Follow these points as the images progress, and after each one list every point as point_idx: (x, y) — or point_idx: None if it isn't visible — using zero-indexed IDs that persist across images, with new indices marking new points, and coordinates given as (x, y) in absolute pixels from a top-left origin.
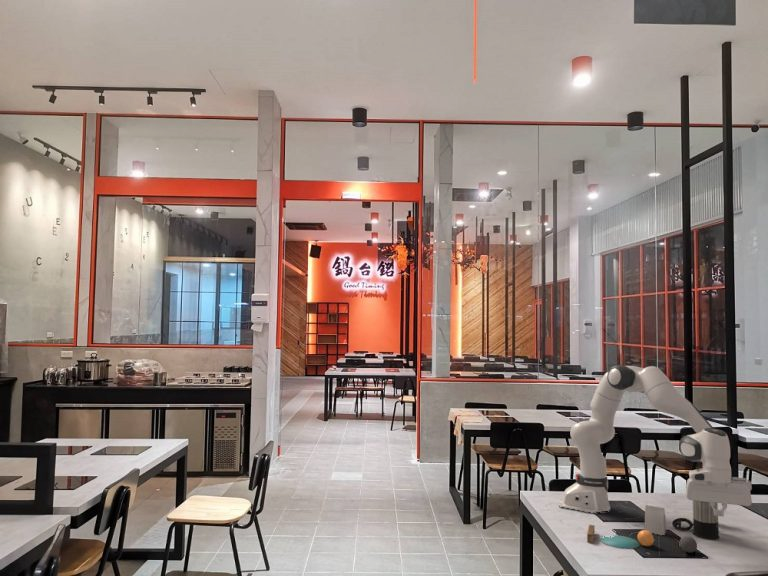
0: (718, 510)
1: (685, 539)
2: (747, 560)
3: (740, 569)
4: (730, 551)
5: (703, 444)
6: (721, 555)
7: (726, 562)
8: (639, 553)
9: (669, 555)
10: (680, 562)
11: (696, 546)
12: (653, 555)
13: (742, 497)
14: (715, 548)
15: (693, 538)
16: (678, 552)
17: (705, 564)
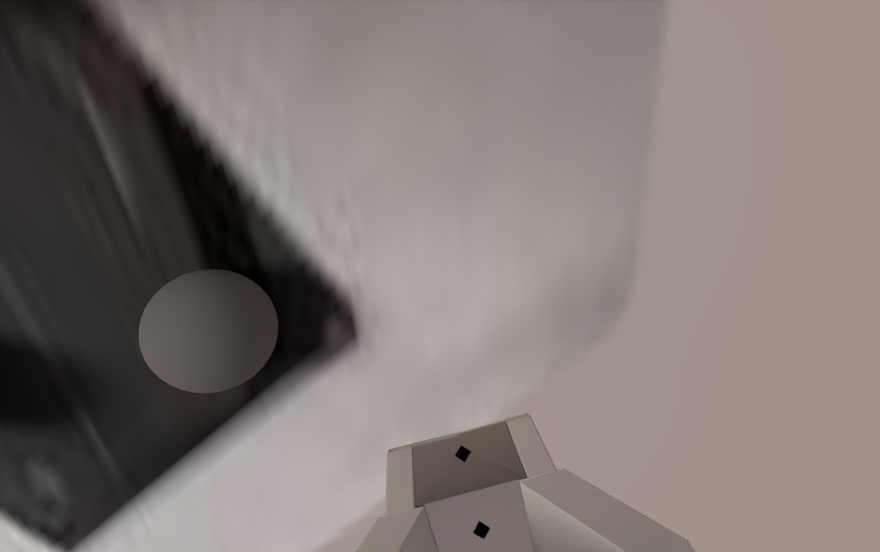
0: (478, 516)
1: (185, 390)
2: (570, 211)
3: (530, 392)
4: (469, 80)
5: None
6: (423, 223)
7: (460, 335)
8: (18, 520)
9: (164, 439)
10: (252, 497)
11: (275, 342)
12: (94, 497)
13: None
14: (366, 79)
15: (230, 339)
16: None
17: (367, 440)
